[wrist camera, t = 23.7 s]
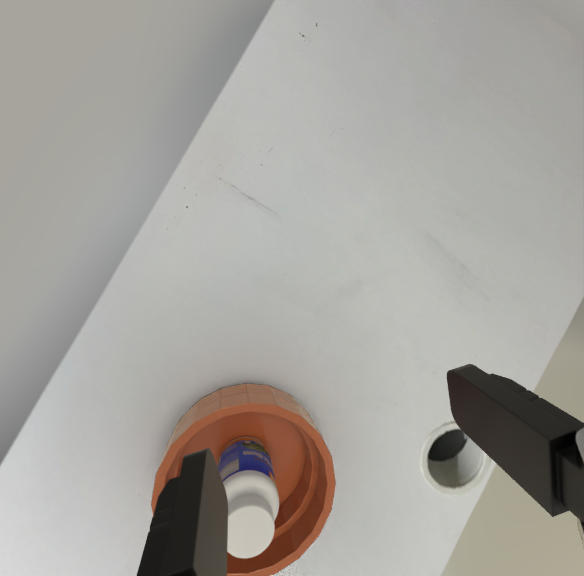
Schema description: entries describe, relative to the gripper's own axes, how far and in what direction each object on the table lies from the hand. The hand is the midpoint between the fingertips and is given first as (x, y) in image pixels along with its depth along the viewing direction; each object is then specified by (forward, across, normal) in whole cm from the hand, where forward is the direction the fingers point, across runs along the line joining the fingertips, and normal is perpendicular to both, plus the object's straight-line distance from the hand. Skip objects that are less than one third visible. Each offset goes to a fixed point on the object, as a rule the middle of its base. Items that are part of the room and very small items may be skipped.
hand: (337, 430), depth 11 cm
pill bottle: (+21, +7, +17) cm, 27 cm away
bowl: (+21, +7, +17) cm, 28 cm away
